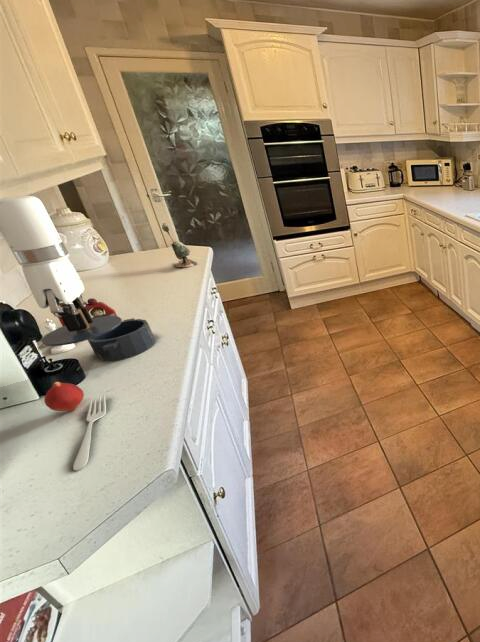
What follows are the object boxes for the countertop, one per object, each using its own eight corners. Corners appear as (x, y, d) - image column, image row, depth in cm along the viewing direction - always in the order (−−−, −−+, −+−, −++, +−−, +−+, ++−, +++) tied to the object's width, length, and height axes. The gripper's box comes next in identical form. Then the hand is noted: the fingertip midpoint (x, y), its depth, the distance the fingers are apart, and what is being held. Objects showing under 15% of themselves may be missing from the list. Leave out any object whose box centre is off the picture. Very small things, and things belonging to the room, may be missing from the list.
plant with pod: (177, 271, 173) (159, 227, 165) (174, 265, 181) (157, 222, 173) (199, 266, 178) (183, 223, 170) (195, 260, 186) (180, 219, 178)
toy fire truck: (120, 328, 126) (106, 299, 122) (65, 342, 119) (48, 311, 115) (121, 320, 131) (107, 292, 127) (68, 333, 124) (52, 303, 119)
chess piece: (56, 347, 116) (39, 317, 112) (78, 343, 118) (62, 313, 114) (47, 355, 112) (29, 325, 108) (70, 351, 114) (53, 320, 110)
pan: (86, 371, 104) (74, 351, 102) (110, 340, 119) (100, 322, 116) (146, 358, 110) (137, 338, 107) (162, 330, 124) (154, 312, 122)
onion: (50, 414, 89) (31, 385, 86) (84, 399, 94) (67, 371, 91) (59, 422, 87) (41, 393, 84) (94, 406, 91) (78, 378, 88)
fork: (66, 474, 74) (62, 467, 73) (91, 406, 92) (88, 399, 91) (90, 466, 75) (86, 459, 75) (110, 400, 93) (106, 394, 93)
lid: (31, 354, 86) (16, 330, 84) (59, 328, 97) (46, 306, 95) (112, 338, 92) (100, 315, 89) (130, 314, 103) (120, 293, 100)
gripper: (36, 247, 91) (74, 317, 99) (-5, 268, 78) (43, 347, 86) (80, 241, 94) (113, 309, 102) (47, 261, 81) (89, 337, 89)
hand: (81, 326), depth 94 cm, fingers closed on lid, 2 cm apart
